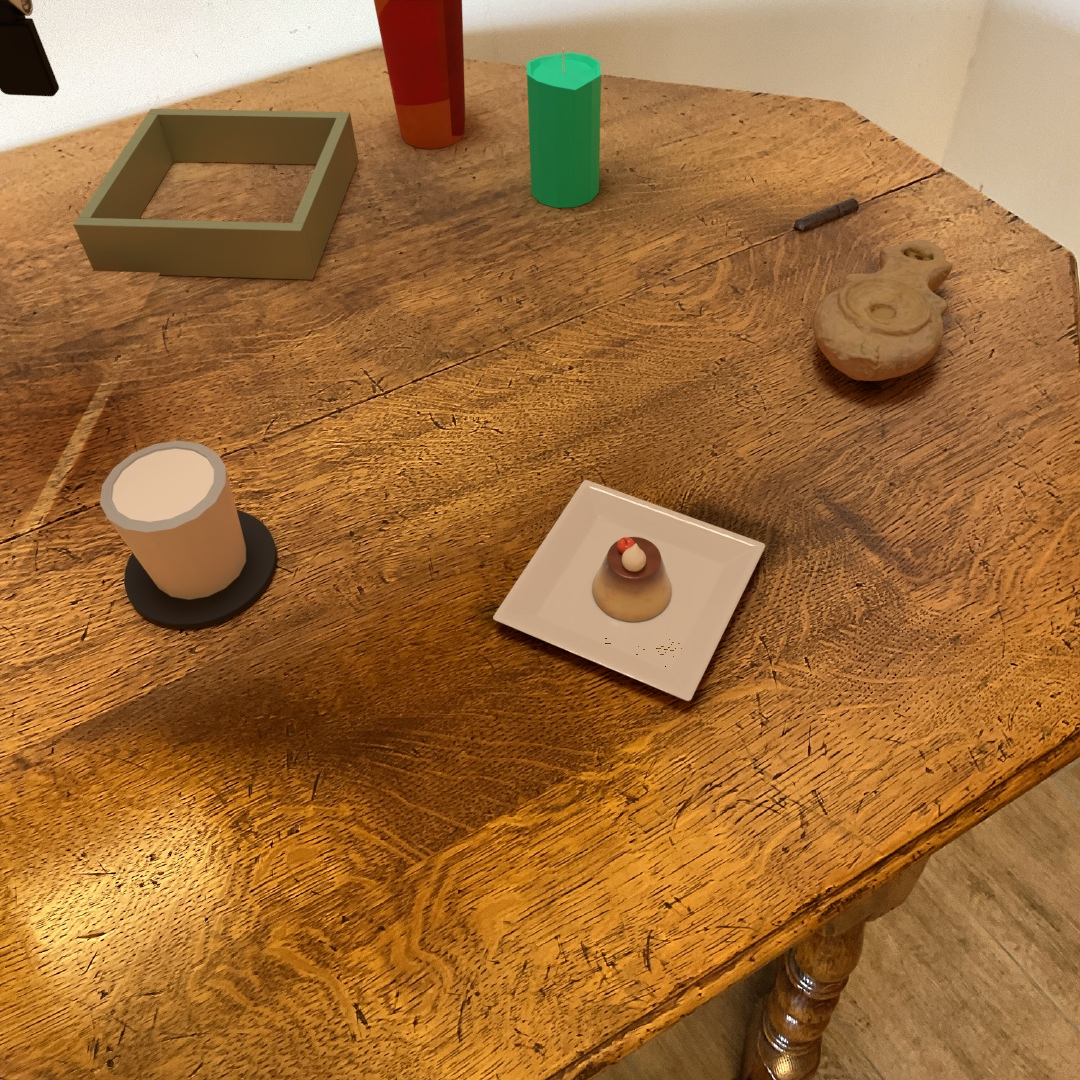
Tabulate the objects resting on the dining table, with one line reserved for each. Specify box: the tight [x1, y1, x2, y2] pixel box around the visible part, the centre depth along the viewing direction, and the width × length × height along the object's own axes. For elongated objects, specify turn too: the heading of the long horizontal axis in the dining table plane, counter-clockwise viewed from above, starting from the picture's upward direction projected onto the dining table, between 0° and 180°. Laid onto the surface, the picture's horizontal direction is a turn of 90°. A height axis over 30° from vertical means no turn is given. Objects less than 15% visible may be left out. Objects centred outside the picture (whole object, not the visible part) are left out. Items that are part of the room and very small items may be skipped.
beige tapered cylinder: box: [99, 440, 246, 599], centre depth 58 cm, size 7×7×7 cm
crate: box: [73, 108, 359, 281], centre depth 84 cm, size 18×18×4 cm
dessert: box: [492, 479, 766, 702], centre depth 57 cm, size 12×12×5 cm
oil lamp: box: [812, 239, 954, 382], centre depth 71 cm, size 11×14×5 cm
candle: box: [526, 47, 602, 209], centre depth 82 cm, size 6×6×12 cm
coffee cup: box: [373, 0, 466, 150], centre depth 87 cm, size 8×8×15 cm
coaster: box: [123, 509, 278, 631], centre depth 60 cm, size 9×9×1 cm
